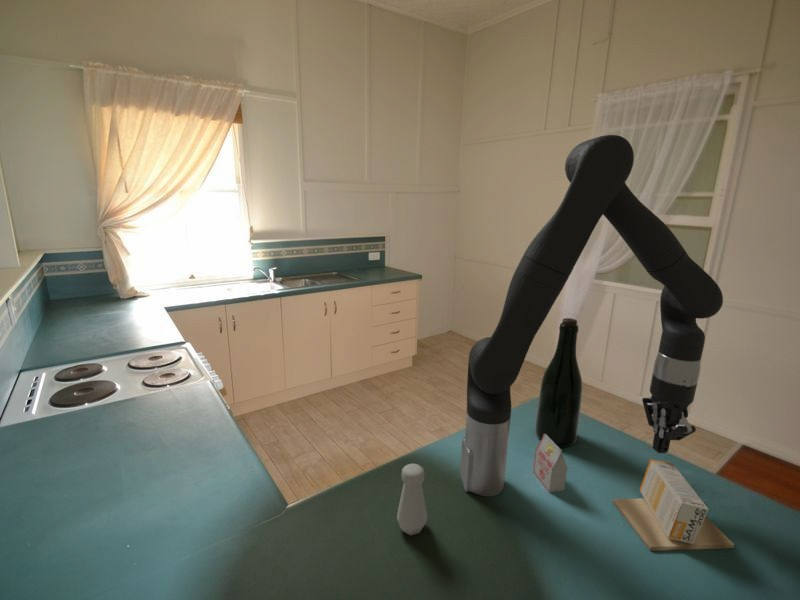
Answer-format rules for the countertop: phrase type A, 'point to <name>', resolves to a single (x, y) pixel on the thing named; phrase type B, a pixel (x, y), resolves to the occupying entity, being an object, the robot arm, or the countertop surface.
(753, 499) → the countertop surface
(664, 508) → the supplement box
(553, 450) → the white printed carton box
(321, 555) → the countertop surface
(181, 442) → the countertop surface
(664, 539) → the tan wooden board
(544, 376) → the dark green wine bottle
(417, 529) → the salt shaker
